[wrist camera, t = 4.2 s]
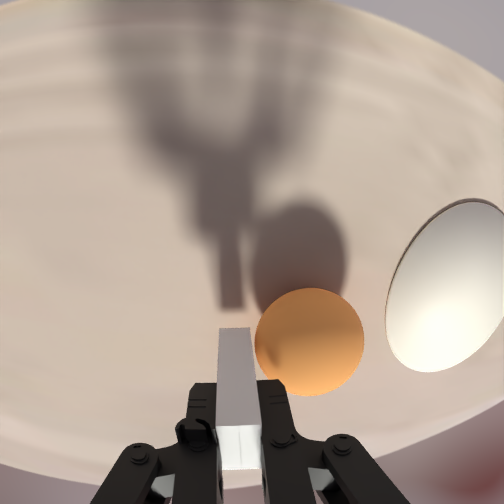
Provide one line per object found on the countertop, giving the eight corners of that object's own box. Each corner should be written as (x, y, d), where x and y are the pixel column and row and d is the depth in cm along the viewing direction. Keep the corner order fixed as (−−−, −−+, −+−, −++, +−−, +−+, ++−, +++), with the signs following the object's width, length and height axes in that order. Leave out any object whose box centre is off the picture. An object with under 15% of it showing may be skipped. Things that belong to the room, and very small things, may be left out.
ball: (264, 329, 12) (393, 314, 12) (248, 274, 17) (345, 268, 18) (262, 424, 13) (369, 407, 14) (249, 358, 19) (335, 349, 19)
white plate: (396, 199, 17) (397, 200, 16) (526, 204, 17) (528, 205, 17) (371, 385, 20) (372, 387, 20) (494, 351, 21) (495, 352, 21)
